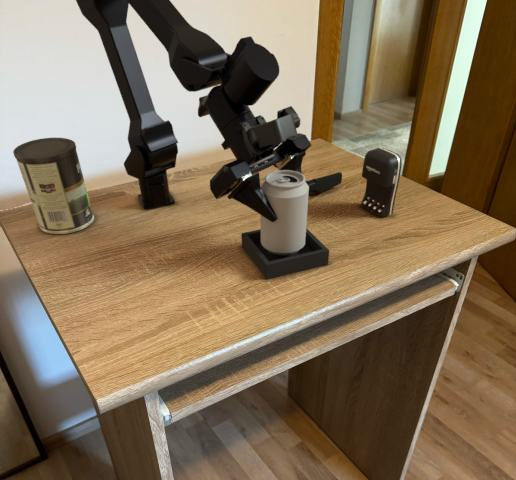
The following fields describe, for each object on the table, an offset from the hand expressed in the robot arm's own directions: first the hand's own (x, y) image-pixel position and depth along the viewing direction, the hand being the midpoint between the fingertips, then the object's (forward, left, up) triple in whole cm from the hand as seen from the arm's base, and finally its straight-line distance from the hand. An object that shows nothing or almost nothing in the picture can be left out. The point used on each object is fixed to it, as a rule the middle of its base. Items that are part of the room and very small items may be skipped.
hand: (290, 212), depth 77 cm
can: (-1, -1, -7) cm, 7 cm away
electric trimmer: (-21, +14, -9) cm, 27 cm away
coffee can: (-29, -34, -9) cm, 45 cm away
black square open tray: (-1, -1, -8) cm, 8 cm away
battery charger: (-9, +22, -9) cm, 26 cm away
